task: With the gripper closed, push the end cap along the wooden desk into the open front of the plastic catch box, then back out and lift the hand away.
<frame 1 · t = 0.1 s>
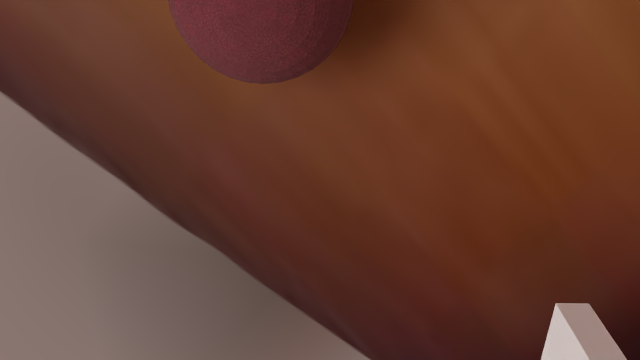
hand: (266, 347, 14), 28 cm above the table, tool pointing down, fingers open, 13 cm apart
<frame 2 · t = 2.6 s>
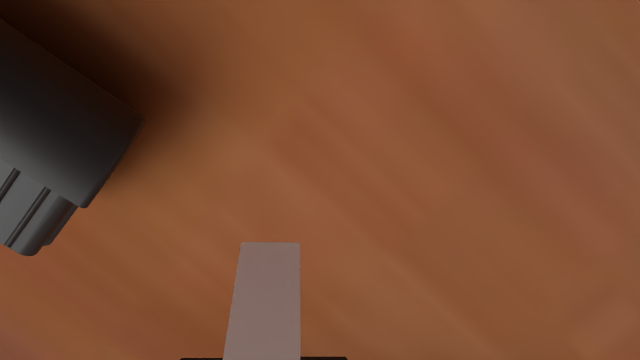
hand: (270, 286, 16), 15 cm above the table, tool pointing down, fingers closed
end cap: (32, 87, 28), on the table
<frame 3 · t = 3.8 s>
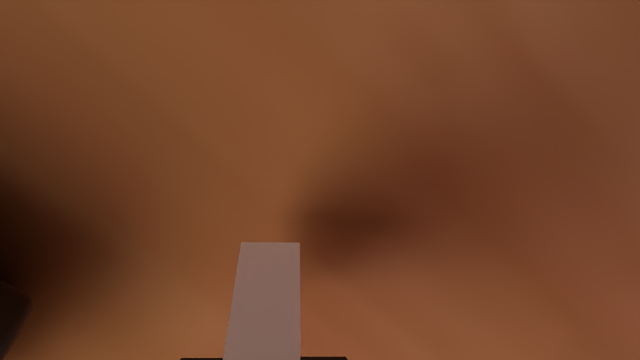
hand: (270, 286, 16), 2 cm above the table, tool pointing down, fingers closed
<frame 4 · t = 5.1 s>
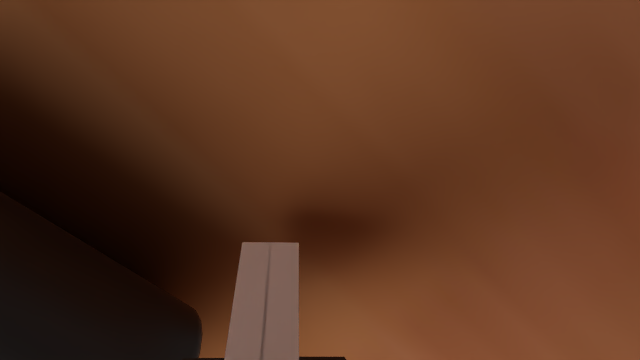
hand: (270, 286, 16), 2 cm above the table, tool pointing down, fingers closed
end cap: (8, 242, 17), on the table, touching gripper
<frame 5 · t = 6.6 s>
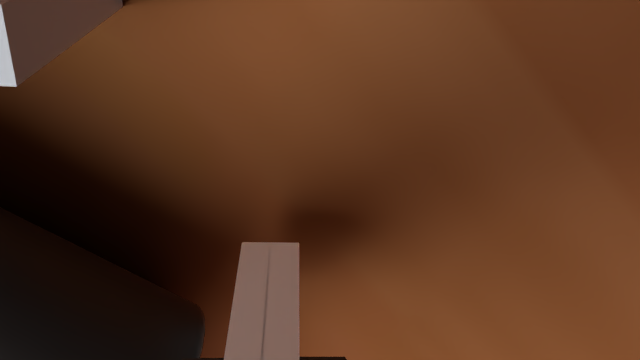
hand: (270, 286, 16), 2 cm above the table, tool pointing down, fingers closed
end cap: (17, 255, 18), on the table
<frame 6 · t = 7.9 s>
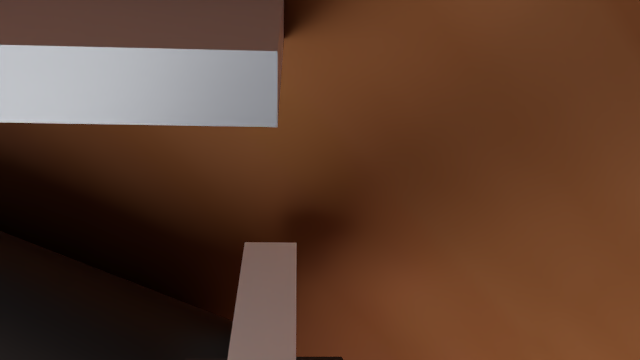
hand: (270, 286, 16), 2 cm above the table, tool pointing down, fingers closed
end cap: (55, 289, 18), on the table, touching catch box, gripper
catch box: (22, 258, 17), on the table
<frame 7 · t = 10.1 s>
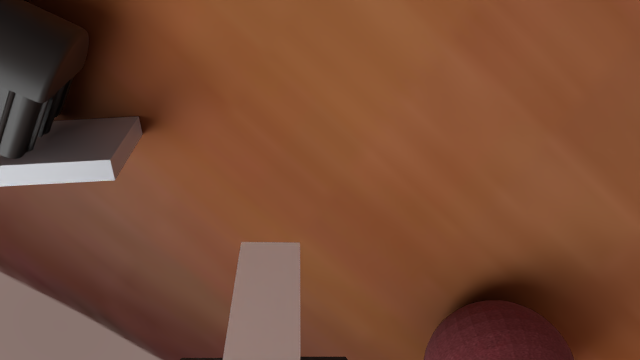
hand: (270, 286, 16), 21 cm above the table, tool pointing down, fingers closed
decorative ball: (478, 323, 45), on the table
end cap: (0, 30, 34), on the table
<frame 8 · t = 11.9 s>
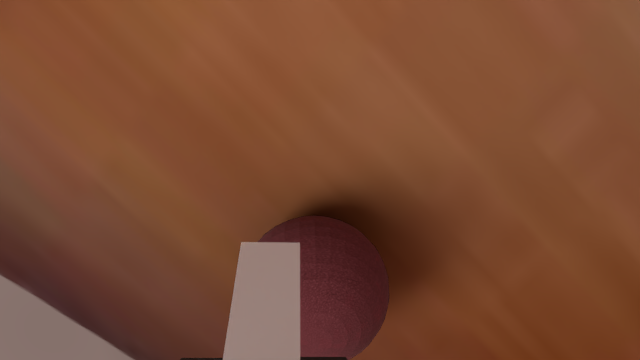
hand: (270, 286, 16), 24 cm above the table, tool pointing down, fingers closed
decorative ball: (312, 247, 45), on the table
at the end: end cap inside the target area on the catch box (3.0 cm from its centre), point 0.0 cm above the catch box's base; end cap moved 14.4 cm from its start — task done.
